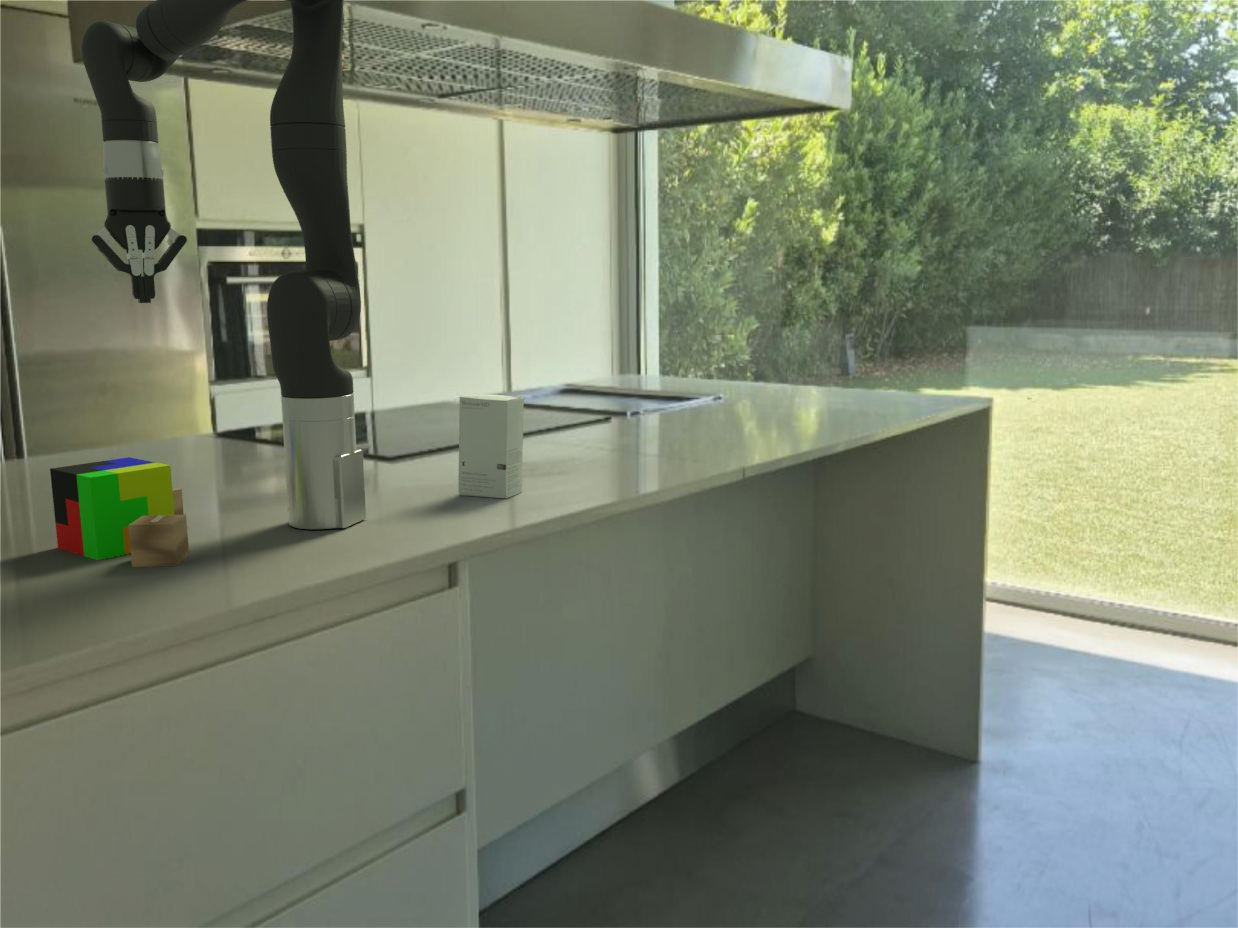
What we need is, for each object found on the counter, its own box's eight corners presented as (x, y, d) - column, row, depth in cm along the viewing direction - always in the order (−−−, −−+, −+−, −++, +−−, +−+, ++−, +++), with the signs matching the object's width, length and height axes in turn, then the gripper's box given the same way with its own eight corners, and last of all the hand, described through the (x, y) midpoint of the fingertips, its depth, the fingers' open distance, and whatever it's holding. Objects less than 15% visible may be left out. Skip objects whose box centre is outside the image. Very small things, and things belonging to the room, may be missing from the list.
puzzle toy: (135, 533, 146) (128, 457, 145) (176, 544, 140) (170, 465, 138) (57, 548, 139) (50, 468, 137) (98, 561, 132) (90, 477, 131)
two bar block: (184, 525, 150) (181, 487, 149) (152, 533, 146) (149, 494, 145) (159, 521, 153) (156, 484, 152) (127, 529, 149) (124, 491, 148)
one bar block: (189, 555, 135) (185, 513, 134) (176, 566, 130) (173, 522, 129) (146, 556, 134) (142, 514, 133) (132, 567, 129) (128, 524, 129)
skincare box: (458, 496, 167) (454, 396, 165) (477, 488, 173) (474, 392, 170) (508, 499, 165) (506, 398, 162) (526, 491, 170) (524, 394, 167)
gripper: (179, 180, 162) (189, 301, 165) (79, 177, 156) (90, 303, 159) (188, 176, 156) (198, 302, 159) (84, 173, 150) (95, 304, 153)
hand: (144, 302), depth 159 cm, fingers closed
